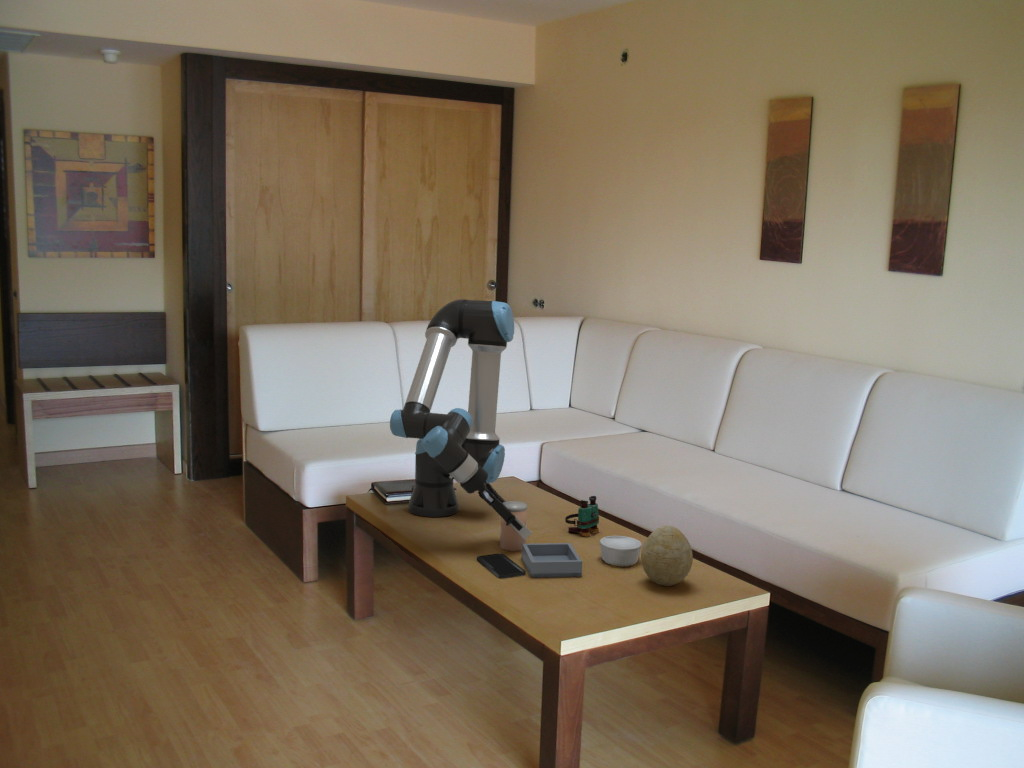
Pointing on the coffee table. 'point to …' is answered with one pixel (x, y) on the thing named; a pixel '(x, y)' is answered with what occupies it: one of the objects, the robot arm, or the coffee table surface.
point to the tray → (551, 560)
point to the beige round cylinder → (508, 534)
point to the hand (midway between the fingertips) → (525, 531)
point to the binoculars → (585, 518)
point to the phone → (501, 566)
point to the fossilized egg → (666, 556)
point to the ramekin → (620, 550)
